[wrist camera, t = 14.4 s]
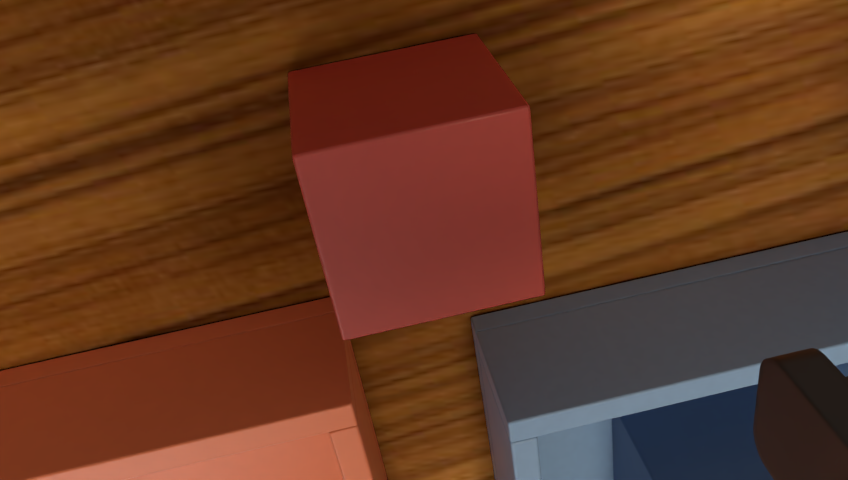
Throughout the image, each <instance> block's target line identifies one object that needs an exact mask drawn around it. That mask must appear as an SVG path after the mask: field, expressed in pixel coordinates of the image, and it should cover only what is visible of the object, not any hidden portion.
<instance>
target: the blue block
mask: <svg viewBox="0 0 848 480" xmlns="http://www.w3.org/2000/svg"><path fill="white" fill-rule="evenodd" d="M757 388H758V384H755V385H751V386H747V387H743V388H739V389H734V390H730V391H726V392H722V393H718V394H713V395H709V396H705V397H701V398H697V399H692V400H688V401H684V402H680V403H675V404H671V405H667V406H663V407H659V408H654V409H650V410H646V411H642V412H638V413H633V414H629V415H625V416H621V417H617V418H612V435H613V474H614V480H774V479H773V478H772V476H771V475H770V473H769V472H768V470H767V469H766V467H765V466H764V464H763V462H762V460H761V458H760V456H759V453H758V450H757V447H756V444H755V440H754V434H753V423H754V415H755V406H756V397H757Z"/></svg>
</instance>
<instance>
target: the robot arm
mask: <svg viewBox="0 0 848 480" xmlns="http://www.w3.org/2000/svg"><path fill="white" fill-rule="evenodd" d="M753 434H754V440H755V444H756V447H757V450H758V453H759V456H760V458H761V460H762V462H763V464H764V466H765V467H766V469H767V470H768V472H769V473H770V475H771V476H772V478H773V479H774V480H848V376H847V377H845V376H844V375H843V374H842V373H841V372H840V370H839V369H838V368H837V367H836V366H835V365H834V364H833V363H832V362H831V361H830V360H829V359H828V357H827V356H826V355H825V354H823V353H822V352H821V351H820V350H818V349H815V348H809V349H805V350H800V351H796V352H792V353H788V354H783V355H779V356H775V357H771V358H766V359H764V360H763V361H762V363H761V365H760V370H759V379H758V388H757V397H756V406H755V415H754V423H753Z"/></svg>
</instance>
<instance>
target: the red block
mask: <svg viewBox="0 0 848 480" xmlns="http://www.w3.org/2000/svg"><path fill="white" fill-rule="evenodd" d="M288 91H289V110H290V129H291V148H292V160H293V163H294V167H295V170H296V174H297V178H298V181H299V185H300V189H301V192H302V196H303V200H304V203H305V207H306V210H307V214H308V218H309V221H310V225H311V229H312V232H313V236H314V239H315V243H316V247H317V250H318V254H319V258H320V261H321V265H322V268H323V272H324V276H325V279H326V283H327V287H328V290H329V294H330V298H331V301H332V305H333V308H334V312H335V316H336V319H337V323H338V327H339V330H340V334H341V337H342V339H343V340H349V339H354V338H358V337H362V336H367V335H371V334H376V333H380V332H384V331H389V330H393V329H398V328H402V327H406V326H411V325H415V324H420V323H424V322H428V321H433V320H437V319H442V318H446V317H450V316H455V315H459V314H464V313H468V312H472V311H477V310H481V309H486V308H490V307H494V306H499V305H503V304H508V303H512V302H516V301H521V300H525V299H530V298H534V297H538V296H543V295H544V294H545V283H544V271H543V259H542V246H541V234H540V222H539V210H538V198H537V185H536V173H535V161H534V149H533V137H532V125H531V112H530V106H529V105H528V103H527V102H526V100H525V99H524V98H523V96H522V95H521V94H520V92H519V91H518V90H517V88H516V87H515V86H514V84H513V83H512V81H511V80H510V79H509V77H508V76H507V75H506V73H505V72H504V71H503V69H502V68H501V66H500V65H499V64H498V62H497V61H496V60H495V58H494V57H493V56H492V54H491V53H490V51H489V50H488V49H487V47H486V46H485V45H484V43H483V42H482V41H481V39H480V38H479V36H478V35H477V34H470V35H466V36H461V37H456V38H451V39H446V40H441V41H436V42H432V43H427V44H422V45H417V46H412V47H407V48H403V49H398V50H393V51H388V52H383V53H378V54H373V55H369V56H364V57H359V58H354V59H349V60H344V61H339V62H335V63H330V64H325V65H320V66H315V67H310V68H306V69H301V70H296V71H291V72H289V73H288Z"/></svg>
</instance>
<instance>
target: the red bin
mask: <svg viewBox="0 0 848 480" xmlns="http://www.w3.org/2000/svg"><path fill="white" fill-rule="evenodd" d="M0 480H388V478H387V475H386V471H385V467H384V463H383V460H382V456H381V452H380V448H379V445H378V441H377V437H376V433H375V430H374V426H373V422H372V419H371V415H370V411H369V407H368V404H367V400H366V396H365V392H364V389H363V385H362V381H361V377H360V374H359V370H358V366H357V363H356V359H355V355H354V351H353V348H352V344H351V340H350V339H349V340H343V339H342V337H341V334H340V330H339V327H338V323H337V319H336V316H335V312H334V308H333V305H332V301H331V298H330V297H328V298H324V299H319V300H315V301H310V302H306V303H301V304H297V305H292V306H288V307H283V308H279V309H275V310H270V311H266V312H261V313H257V314H252V315H248V316H243V317H239V318H234V319H230V320H225V321H221V322H216V323H212V324H208V325H203V326H199V327H194V328H190V329H185V330H181V331H176V332H172V333H167V334H163V335H158V336H154V337H149V338H145V339H140V340H136V341H132V342H127V343H123V344H118V345H114V346H109V347H105V348H100V349H96V350H91V351H87V352H82V353H78V354H73V355H69V356H65V357H60V358H56V359H51V360H47V361H42V362H38V363H33V364H29V365H24V366H20V367H15V368H11V369H6V370H2V371H0Z"/></svg>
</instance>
